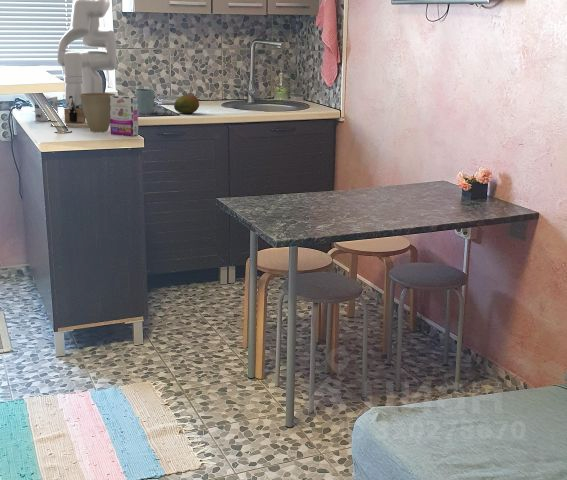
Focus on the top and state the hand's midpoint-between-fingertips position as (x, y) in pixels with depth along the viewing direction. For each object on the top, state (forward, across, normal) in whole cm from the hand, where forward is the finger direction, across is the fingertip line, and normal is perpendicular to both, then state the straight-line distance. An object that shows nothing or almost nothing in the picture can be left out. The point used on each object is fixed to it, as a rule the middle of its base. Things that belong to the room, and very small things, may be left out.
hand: (75, 120), depth 365 cm
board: (+2, +1, 0) cm, 2 cm away
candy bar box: (+2, +23, +28) cm, 37 cm away
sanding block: (+1, 0, 0) cm, 1 cm away
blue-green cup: (+3, -57, +19) cm, 60 cm away
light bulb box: (+2, -14, -18) cm, 23 cm away
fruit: (+3, -61, +40) cm, 73 cm away
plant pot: (+2, +15, +15) cm, 21 cm away
